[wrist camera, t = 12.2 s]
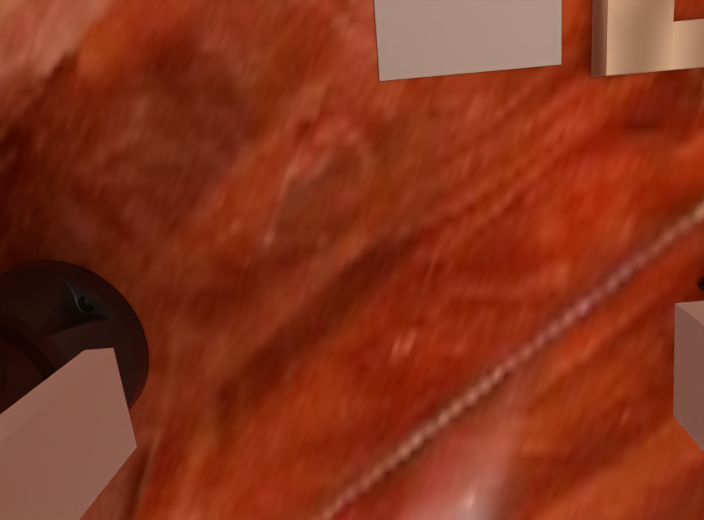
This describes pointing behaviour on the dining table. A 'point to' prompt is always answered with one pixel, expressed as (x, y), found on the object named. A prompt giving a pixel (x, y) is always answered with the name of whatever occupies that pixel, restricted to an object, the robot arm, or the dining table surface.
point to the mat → (465, 36)
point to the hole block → (643, 38)
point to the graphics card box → (702, 285)
